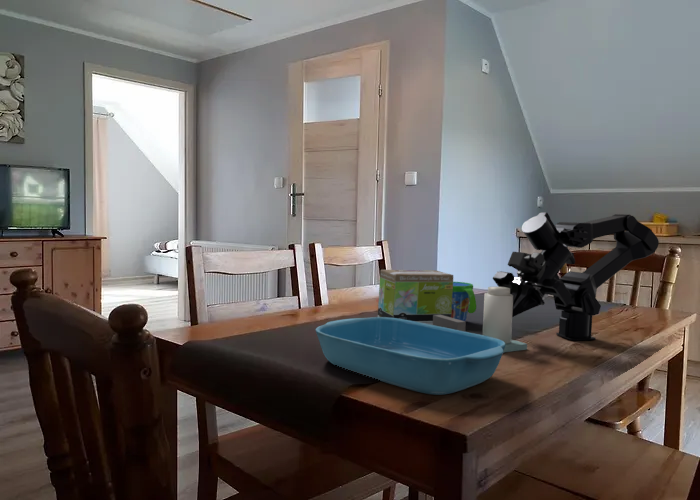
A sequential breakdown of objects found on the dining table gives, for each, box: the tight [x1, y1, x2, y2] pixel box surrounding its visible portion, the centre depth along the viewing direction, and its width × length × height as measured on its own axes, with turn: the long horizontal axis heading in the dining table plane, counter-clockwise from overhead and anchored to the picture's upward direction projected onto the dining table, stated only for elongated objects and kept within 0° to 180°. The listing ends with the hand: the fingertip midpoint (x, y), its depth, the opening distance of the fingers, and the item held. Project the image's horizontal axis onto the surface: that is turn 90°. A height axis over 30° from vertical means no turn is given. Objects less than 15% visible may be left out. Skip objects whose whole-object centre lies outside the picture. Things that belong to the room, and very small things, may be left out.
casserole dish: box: [315, 316, 505, 396], centre depth 101 cm, size 37×22×7 cm, turn 44°
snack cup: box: [451, 281, 477, 322], centre depth 149 cm, size 16×10×10 cm
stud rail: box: [433, 315, 528, 353], centre depth 119 cm, size 19×8×7 cm, turn 119°
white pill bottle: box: [482, 286, 513, 344], centre depth 121 cm, size 6×6×11 cm
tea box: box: [377, 269, 454, 325], centre depth 133 cm, size 15×10×15 cm
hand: (509, 315), depth 122 cm, fingers closed, pressing on white pill bottle
